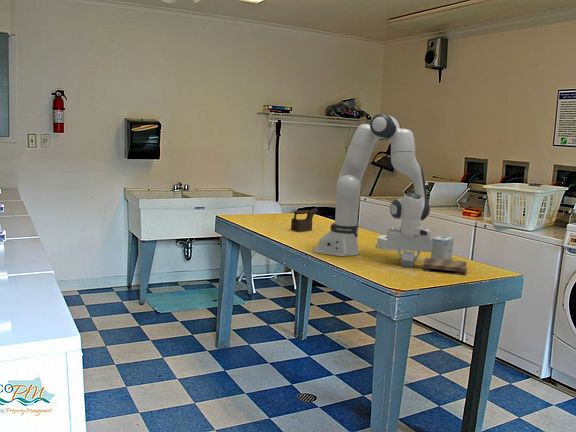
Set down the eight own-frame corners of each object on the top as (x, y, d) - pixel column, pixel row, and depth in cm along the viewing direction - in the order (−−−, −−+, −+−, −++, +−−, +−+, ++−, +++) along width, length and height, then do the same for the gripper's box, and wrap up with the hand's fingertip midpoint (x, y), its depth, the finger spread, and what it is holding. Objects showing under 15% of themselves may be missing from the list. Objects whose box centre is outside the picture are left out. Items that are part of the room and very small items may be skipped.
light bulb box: (439, 256, 265) (441, 235, 263) (452, 259, 261) (454, 237, 259) (429, 259, 257) (431, 237, 255) (443, 262, 252) (445, 239, 251)
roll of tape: (371, 245, 287) (371, 235, 286) (396, 244, 292) (397, 234, 292) (386, 251, 272) (387, 240, 271) (412, 250, 278) (413, 240, 277)
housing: (401, 266, 240) (402, 253, 239) (403, 262, 247) (404, 250, 246) (412, 267, 238) (413, 254, 237) (414, 264, 246) (415, 251, 245)
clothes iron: (319, 230, 324) (320, 209, 322) (296, 232, 316) (297, 209, 314) (312, 228, 331) (313, 207, 329) (290, 230, 322) (291, 208, 320)
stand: (423, 270, 234) (423, 264, 234) (424, 263, 247) (425, 257, 247) (466, 275, 229) (466, 268, 228) (465, 268, 242) (466, 261, 242)
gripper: (386, 228, 240) (384, 258, 242) (433, 232, 234) (430, 263, 236) (388, 226, 246) (386, 255, 248) (434, 230, 240) (431, 260, 242)
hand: (408, 259), depth 242 cm, fingers closed on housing, 5 cm apart
